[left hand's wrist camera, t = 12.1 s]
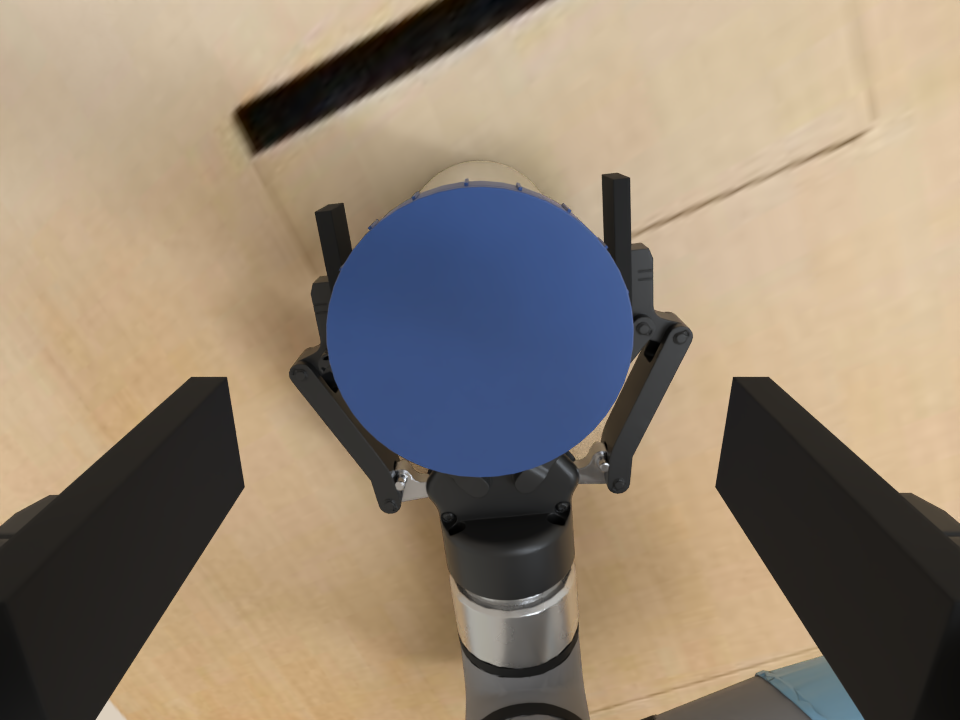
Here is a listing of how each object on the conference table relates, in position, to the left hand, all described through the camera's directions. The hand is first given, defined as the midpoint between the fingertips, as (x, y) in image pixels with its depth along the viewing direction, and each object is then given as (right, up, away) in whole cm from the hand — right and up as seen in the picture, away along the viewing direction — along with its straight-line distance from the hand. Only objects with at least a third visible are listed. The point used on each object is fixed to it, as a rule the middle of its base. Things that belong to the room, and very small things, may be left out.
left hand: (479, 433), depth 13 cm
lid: (0, +2, +6) cm, 6 cm away
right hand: (0, +10, +15) cm, 18 cm away
